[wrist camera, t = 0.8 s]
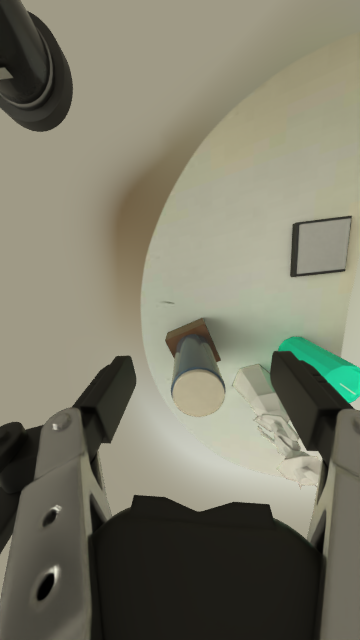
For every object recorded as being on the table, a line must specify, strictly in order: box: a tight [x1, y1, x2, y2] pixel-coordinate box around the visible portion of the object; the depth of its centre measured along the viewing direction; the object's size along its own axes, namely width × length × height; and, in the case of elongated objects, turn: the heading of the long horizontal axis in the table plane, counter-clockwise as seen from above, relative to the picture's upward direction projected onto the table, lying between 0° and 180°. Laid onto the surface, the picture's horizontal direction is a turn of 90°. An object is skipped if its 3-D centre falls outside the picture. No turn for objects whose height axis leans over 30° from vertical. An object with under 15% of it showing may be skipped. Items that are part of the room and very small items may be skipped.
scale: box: [291, 216, 352, 277], centre depth 27 cm, size 8×8×1 cm
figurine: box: [232, 364, 321, 489], centre depth 25 cm, size 7×8×18 cm
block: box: [165, 318, 221, 362], centre depth 31 cm, size 7×7×4 cm
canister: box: [171, 334, 225, 417], centre depth 23 cm, size 6×6×11 cm
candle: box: [278, 337, 360, 403], centre depth 27 cm, size 6×6×12 cm
